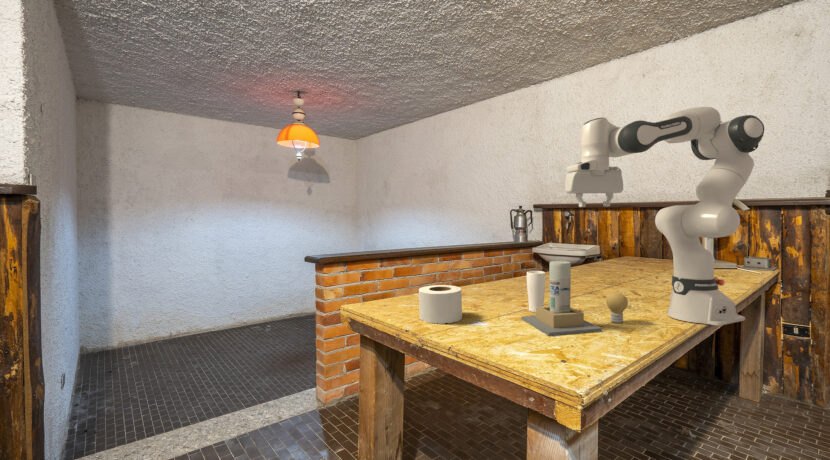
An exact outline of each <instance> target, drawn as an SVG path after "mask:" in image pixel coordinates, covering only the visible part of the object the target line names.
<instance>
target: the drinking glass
mask: <svg viewBox="0 0 830 460" xmlns="http://www.w3.org/2000/svg"><path fill="white" fill-rule="evenodd" d="M526 291H527V301H528V311H529V312H531V313H535V314H536V307H545V306H544V305H545V293H546V292H545V291H546V272H545V271H542V270H529V271H526Z"/></svg>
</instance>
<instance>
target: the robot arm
mask: <svg viewBox="0 0 830 460" xmlns="http://www.w3.org/2000/svg"><path fill="white" fill-rule="evenodd" d="M721 118H722V117H721V114H720V112H719V110H717V109H716V108H714V107H712V106H711V107H710V106H698V107H691V108H686V109H682V110H678V111H675V112H673V113H670V114H669V115H667V116H664V117H663V118H662V120H660V121H655V122H652V121H647V120H642V119H641V120H634V121H632V122H630V123H627V124H626V125H623V126H616V125H615V124H613V123H611V122H610V121H609V120H608V118H607V117H598V118H593V119H590V120H588V121H586V122H585V123H583V124H582V127H581V130H580V131H581V132H580V150H581V154H580V161H579V162H577V163H575V164H571V165H569V166H567V168H566V172H567V174H566V175H565V184H564V187H565V188H564V189H565V192H566V193H567V195H569V194H573V195H575V198H576V200H577V202H578V207H579V208H585V207H586V206H587V205H586V203H587V202H586V201H584V199H583V197H584V194H605V197H606V199H605V200H604V201H602V206H603V207H611V201H612V199H613V198H614V194H620V193H622V192H623V191H624V180H623V175H622V173H623V172H622V170H621V168H619V166H610V158H620V157H623V156H627V155H628V156H629V155H633V154H639V153H644V152H647V151H648V150H650V149H651V148H652V147H653V146H655V145H656V144H658V143H659V142H662V141H665V143H668V144H680V143H685V142H690V147H691V148H690V149H691V150H692V153H693V155H694V156H695V157H696V158H697V159H699V160H701V161H711V160H714V163H713V165H712V167H710V169H709V170H708V171H707V173H706V174H705V175H704V176H703V178H702V179H701V181H700V182H698V185H697V186H696V188H695V194H696V195H695V196H696V198H697V199H698V201H699V202H697V203H695V204H682V205H681V204H678V205H671V206H667V207H663V208H661V209H659V211H658V212H657V213H656V215H655V218H654V224H655V227H656V229H657V230H658V232H660V233H661V234H662V235H664V237H665V238H666V240H667V241H668V244H669V246H670V248H671V249H670V250H671V253H672V257H673V258H672V260H673V261H672V262H673V275H671V287H672V290H671V294H670V299H669V307H668V308H667V316H668V317H669V318H673V319H675V320H678V321H683V322H689V323H695V324H705V325H706V324H707V325H711V326H712V325H713V326H717V327H718V326H724V325H731V324H734V323H740V322H744V321H746V317H745V316H743V315H740V314H738V313H737V311H736V304H735V301H734V300H733V299H731V298H730V297H729V296H727V295H726V294H725V293H723V292H722V291H720V290H719V286H724V285H725V283H726V282H725V279H723V278H722V279H721V278H715V257H714V254H713V253H712V252H711V251H710V250H708V249H706V248H705V247H704V246H703V244H702V243H701V240H700V238H703V239H704V238H707V239H717V238H724V237H731V236H732V235H733V234H735V233H736V232H737V230H738V229H739V227H740V224H741V218H740V215H739V212H738V211H737V210H736V209H735V208H734V207H733V203H734V201H735V199H736V198H737V196H738V194H739V193H740V192H741V190H742V189H743V188H744V186H745V185H746V183H747V181H748V180H749V178H750V176H751V175H752V172H753V169H754V166H755V161H754V158H753V157H752V156H751V155H750V153H752V152H754V151H755V150H757V149H758V148H759V143H761V141H762V140H763V136H764V133H765V125H764V123H763V121H762V120H761V119H760V118H759V117H758V116H755V115H752V114H748V115H747V114H745V115H739V116H737V117H735V118H732V119H731V120H727V121H722V119H721ZM718 285H719V286H718Z"/></svg>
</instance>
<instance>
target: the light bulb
mask: <svg viewBox="0 0 830 460" xmlns="http://www.w3.org/2000/svg"><path fill="white" fill-rule="evenodd" d="M605 299H606V300H605V301H606V302H605V303H606V306H607V307H608V309H609V310H610V316H609V317H610V321H611V322H612V323H615V324H622V323H623V322H624V313H623V312H624V311H626V309H627V307H628V304H629V301H628V298H627V297H626V296H625V294H623V293H620V292H612V293H609V294H608V295H607V296H606V298H605Z"/></svg>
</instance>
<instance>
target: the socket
mask: <svg viewBox="0 0 830 460" xmlns="http://www.w3.org/2000/svg"><path fill="white" fill-rule="evenodd" d="M535 314H536V315H523V316H522V315H521V318H520V319H521V320H522V321H524V322H526V323H527V324H529V325H530V326H532V327H534V328H535V329H537V330H538V331H541V332H542V333H544V334H545V335H547V336H548V337H551V336H566V335H574V334H575V335H576V334H577V335H578V334H587V333H598V332H603V328H602V327H601V326H598V325H596V324H593V323H591V322H590V321H587V320H585V316H584V315H585V314H584V312H582V311H580V310H577V309H574V308H573V307H570V313H561V314H554V313H552V312H550V305H546V306H544V307H536V313H535Z"/></svg>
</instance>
